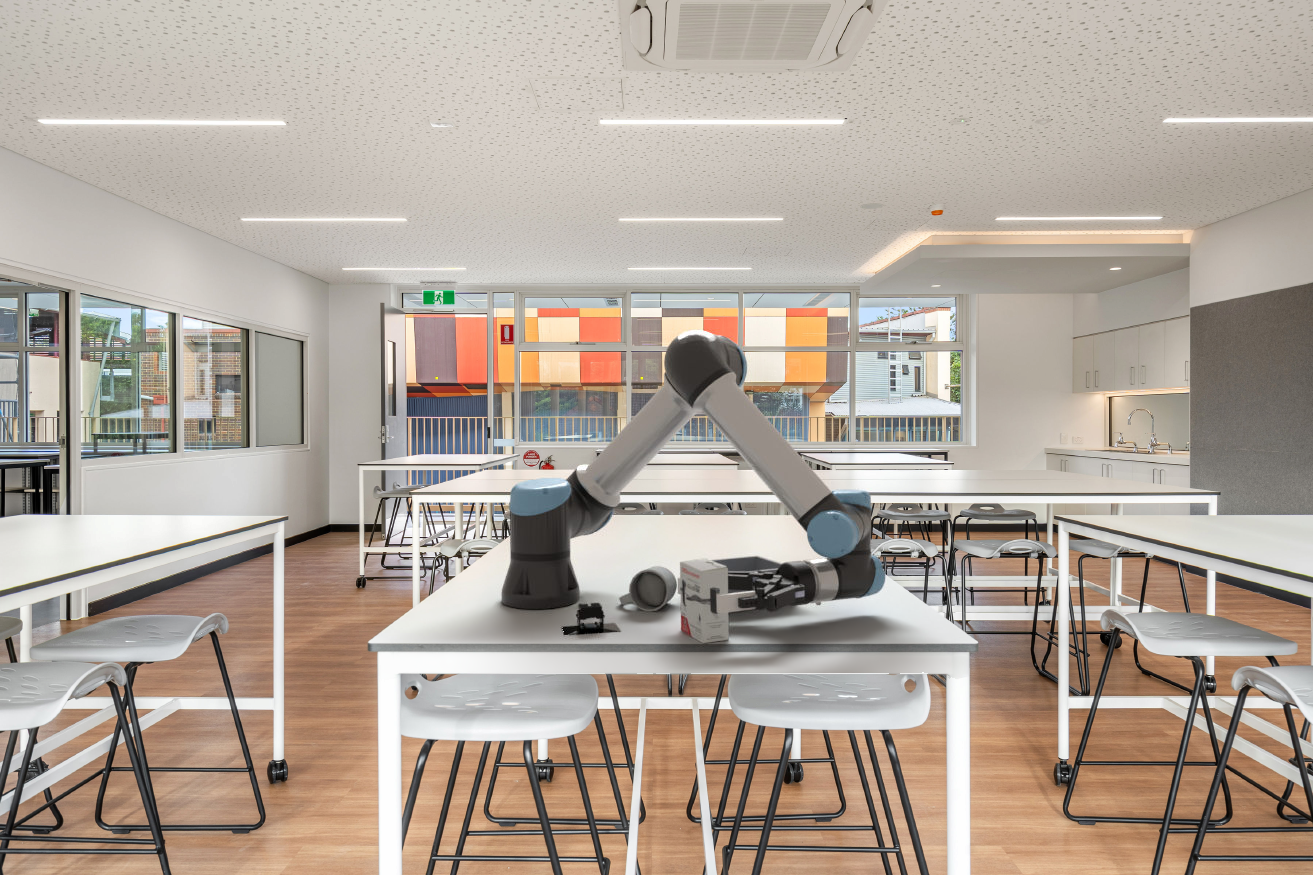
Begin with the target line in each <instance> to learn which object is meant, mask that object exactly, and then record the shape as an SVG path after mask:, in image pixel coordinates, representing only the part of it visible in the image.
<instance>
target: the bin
mask: <svg viewBox="0 0 1313 875" xmlns="http://www.w3.org/2000/svg"><path fill="white" fill-rule="evenodd" d="M710 560H711V561H714V562H717V563H719V564H722V565H724V566H726V568H728V571H758V570H761V571H763V573H765V572H772V573H773V575H774V574H775V573H776V572H777V570H778V568H779V566H780V565H781V564H782V563H783V562H779V561H777V560H773V559H769V558H766V557H763V556H760V555H750V556H739V557H727V558H718V559H715V558H714V559H710ZM753 589H755V586H753ZM738 592H746V590H729V589H728V594H729V593H738ZM755 596H757V594H755ZM753 610H758V609H757V607H755V609H750V610H749V611H753ZM744 611H745V612H746V611H747V610H743V611H742V612H744ZM738 612H739V611H735V612H734V613H738ZM729 613H731V612H728V614H729Z"/></svg>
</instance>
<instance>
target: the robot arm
mask: <svg viewBox="0 0 1313 875" xmlns="http://www.w3.org/2000/svg"><path fill="white" fill-rule="evenodd" d="M663 363H664V371H665V372H664V373H663V385H662V386H661V387H660V388H659V389H658V390H657V392H656V393H655V394H654V395H653V396H652V397H650V399H649V400H648V401H647V402H646V404H645V405H643V407H642V408H641V409H640V410H639V411H638V412H637V413H636V415H635V416H633V418H631V419H630V421H629V422H628V423H627V424H626V425H625V426H624V427H623V428H622V430H620V432H619V433H618V434H616V436H615V437H614V438H613V439H612V440H611V441H610V442H609V444H607V446H605V448H604V449H603V450H602V451H601V452H600V453H599V454H598V455H597V457H595V458H594V460H593V461H592V462H591V463H589V464H579V465H578V466H577V467H576V468H575V469H574V471H573V472H572V473H571V474H570V475H569V476H568V477H567V478H566V479H564V478H561V477H560V478H559V477H542V478H536V479H529V480H524V481H521V482H519V483H517V484H515V485H514V486H513V487H512V488H511V490H510V494H509V495H510V496H509V497H510V498H509V502H508V503H509V504H508V508H509V540H510V541H509V544H510V546H509V547H510V548H509V549H510V552H509V553H510V560H509V561H510V562H509V565H508V569H507V572H506V575H505V579H504V581H503V585H502V588H501V603H502V605H505V606H506V607H507V606H508V607H509V608H510V607H511V608H514V609H515V608H516V609H524V610H544V609H545V610H546V609H554V608H559V607H561V608H562V607H565V606H569V605H572V604H575V603H576V602H578V601H579V600H580V598H581V596H580V594H581V593H580V584H579V581H578V579H577V576H576V575H577V574H576V573H575V569H574V566H573V563H572V559H571V539H576V538H578V537H581V536H589V535H592V534H594V533H596V532H599V531H600V530H602V529H603V528H604V527H606V526H607V524H608V523H609V522H610V521H611V519H612V517H613V516H614V512H615V508H616V507H618V505H619V504H620V502H621V492H622V491H623V490H624V489H625V488H626V487H627V485H629V484H630V483H631V482H632V480H633V479H635V478H636V477H637V476H638V474H639V473H640V472H641V471H643V469H644V468H645V467H646V466H648V464H649V463H650V462H651V461H652V460H653V459H654V458H655V457H656V456H657V454H659V453H660V452H661V450H663V449H664V447H665V446H666V445H667V444H668V443H669V442H670V441H671V440H672V439H673V438H674V437H675V436H676V435H677V434H678V433H679V432H680V431H681V430H682V429H683V428H684V427H685V426H686V425H687V423H688V422H690V420H691V419H692V418H694V416H696V415H705V416H706V417H707V418H708V419H709V420H710V422H711V423H712V424H713V425H714V426H715V427H716V428H717V430H718V431H719V432H720V433H721V434H722V435H723V437H724V438H725V439H726V440H727V442H729V444H730V445H731V446H732V447H733V448H734V449H735V451H736V452H737V453H738V454H739V456H741V458H742V459H743V460H744V461H745V462H746V463H747V465H748V466H749V467H750V468H751V469H752V470H753V472H755V474H756V475H757V476H758V478H760V479H761V481H762V482H763V483H764V484H765V486H766V487H767V488H768V489H769V490H770V491H771V493H772V494H773V495H774V496H775V497H776V498H777V500H778V501H779V502H780V503H781V505H783V506H784V507H785V509H786V510H787V511H788V512H789V513H790V514H791V516H792V517H793V518H794V519H795V520H796V521H797V523H798V524H799V525H800V526H801V528H802V529H803V531H805V533H806V536H807V541H808V544H809V546H810V548H811V549H812V551H814V553H816V554H817V555H819V556H821V557H822V558H821V557H820V558H819V557H818V558H812V559H803V560H794V561H785V562H781V563H782V564H781V565H780V566H779V568H778V570H777V572H776V573H775V574H774V575H773V573H772V572H765V573H763V571H761V570H758V571H728V589H729V590H746V592H738V593H729V594H721V595H717V613H727V612H730V613H736V612H735V611H738V612H744V611H743V610H746V611H751V610H750V609H753V610H761V611H762V610H765V609H766V611H767V612H769V613H773V612H775V611H778V610H781V609H783V608H785V607H788V606H789V607H796V606H804V605H805V606H806V605H808V604H816V606H821V605H822V602H831V601H840V600H850V599H851V600H852V599H862V598H866V597H869V596H872V595H873V596H874V595H877V594H878V593H879V592H881V591H882V589H883V588H884V585H885V582H886V571H885V570H884V567H883V566H884V564H883V563H882V561H881V560H880V558H878V556H876V555H874V554H872V548H871V547H872V545H871V544H872V512H873V508H872V501H871V500H872V499H871V498H872V496H871V494H870V492H868V491H866V490H860V489H833V490H831V489H830V488H829V487H828V486H827V485H826V483H825V482H824V481H823V480H822V479H821V478H820V477H819V475H818V474H817V473H816V472H815V471H814V470H813V469H812V468H811V467H810V465H808V463H807V462H806V461H805V460H804V459H803V457H801V455H800V454H799V453H798V452H797V451H796V449H795V448H794V447H793V446H792V445H791V444H790V443H789V441H787V439H786V438H785V437H784V436H783V435H782V434H781V433H780V432H779V430H778V428H776V427H775V426H774V425H773V424H772V422H770V420H769V419H768V418H767V416H766V415H764V414H763V412H762V410H760V409H759V408H758V406H756V404H755V403H754V402H753V401H752V400H751V399H750V397H748V395H747V394H746V393H745V392H744V391H743V390H742V388H741V387H742V386H743V385H744V382H745V381H746V378H747V374H748V362H747V357H746V355H745V353H744V350H742V348H741V347H740V346H739V345H738V344H737V343H736V342H734V341H732V340H731V339H730V338H729V337H726V336H723V335H720V334H719V335H717V334H714V333H711V332H708V331H705V330H701V329H692V330H691V329H690V330H687V331H684V332H682V333H680V334H678V335H677V336H676V337H675V338H674V339H673V340H671V342H670V343H669V345H668V347H667V349H666V351H665V354H664V360H663ZM753 586H755V589H753ZM677 594H678V595H681V592H680V577H677ZM755 594H757V596H755ZM755 607H757V609H755Z"/></svg>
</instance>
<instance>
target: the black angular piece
mask: <svg viewBox="0 0 1313 875" xmlns="http://www.w3.org/2000/svg"><path fill="white" fill-rule="evenodd" d="M577 605H578V609H576V613H575V617H576V625H563V626H562V627H563V628H561V627H560V628H561V632H562V634H563V636H564V635H569V636H581V635H593V634H594V635H596V634H611V633H612V634H613V633H621V632H622V631H621V629H620V628H619V626H618V625H617V624H616V622H608V623H607V622H604V621H605V618H606V614H605V613H604V610H603V607H602V604H601V603H600V602H593V603H592V602H591V603H590V605H589V604H588V603H579V604H577ZM587 619H596V620H598V621H594V622H582V621H586V620H587ZM562 629H563V630H562ZM563 631H564V632H563Z"/></svg>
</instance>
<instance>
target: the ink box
mask: <svg viewBox="0 0 1313 875" xmlns="http://www.w3.org/2000/svg"><path fill="white" fill-rule="evenodd" d="M711 560H712V559H708V558H698V559H691V560H683V561H680V562H679V575H680V576H679V578H680V592H681V594H680V630H681V631H683V632H684V633H686V634H687V635H688V636H690V637H692V638H694V639H695V640H697V641H698V642H699V641H700V643H701V642H702V643H701V644H707V643H714V642H720V641H721V642H723V641H729V640H730V639H729V638H730V632H729V630H730V629H729V628H730V626H729V625H730V624H729V622H730V621H729V619H730V618H729V613H728V612H727V613H717V595H721V594H728V568H726V566H724V565H722V564H719V563H717V562H714V561H711Z"/></svg>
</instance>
